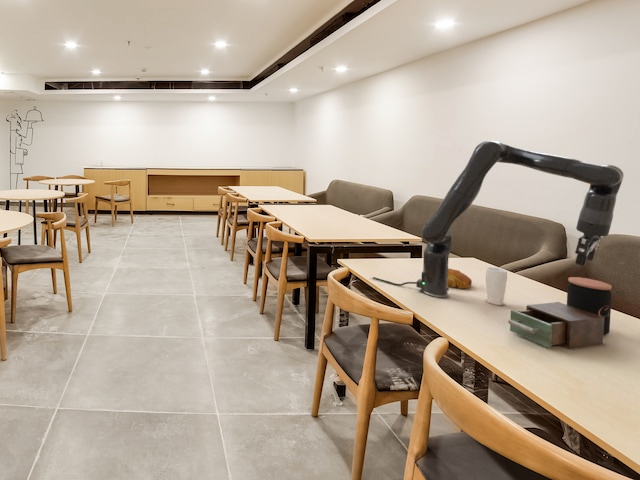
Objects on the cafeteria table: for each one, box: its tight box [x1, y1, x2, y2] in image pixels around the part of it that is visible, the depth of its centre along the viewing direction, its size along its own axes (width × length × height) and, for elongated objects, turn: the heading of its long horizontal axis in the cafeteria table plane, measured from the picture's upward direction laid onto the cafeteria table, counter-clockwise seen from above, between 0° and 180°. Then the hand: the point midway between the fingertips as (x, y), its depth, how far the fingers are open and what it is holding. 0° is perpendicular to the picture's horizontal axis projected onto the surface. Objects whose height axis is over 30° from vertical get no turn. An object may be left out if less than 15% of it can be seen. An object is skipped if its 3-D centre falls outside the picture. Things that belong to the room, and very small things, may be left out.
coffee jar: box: [566, 276, 613, 336], centre depth 136 cm, size 11×11×18 cm
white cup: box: [485, 266, 508, 306], centre depth 158 cm, size 7×7×15 cm
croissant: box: [447, 267, 473, 290], centre depth 180 cm, size 14×16×8 cm
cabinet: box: [525, 301, 605, 350], centre depth 130 cm, size 16×13×10 cm
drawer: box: [507, 309, 568, 348], centre depth 128 cm, size 19×11×8 cm, turn 101°
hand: (584, 262), depth 132 cm, fingers open, 8 cm apart
